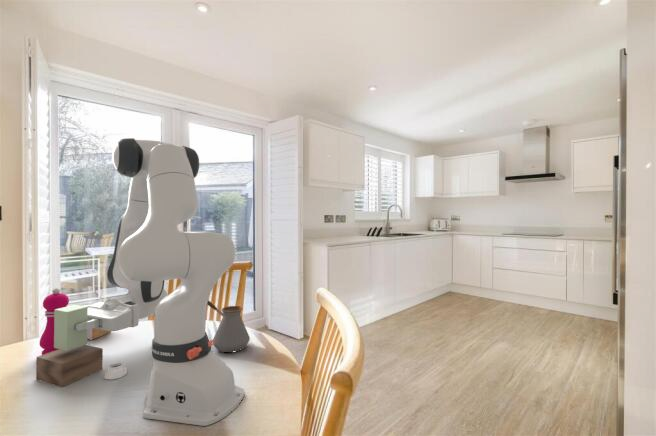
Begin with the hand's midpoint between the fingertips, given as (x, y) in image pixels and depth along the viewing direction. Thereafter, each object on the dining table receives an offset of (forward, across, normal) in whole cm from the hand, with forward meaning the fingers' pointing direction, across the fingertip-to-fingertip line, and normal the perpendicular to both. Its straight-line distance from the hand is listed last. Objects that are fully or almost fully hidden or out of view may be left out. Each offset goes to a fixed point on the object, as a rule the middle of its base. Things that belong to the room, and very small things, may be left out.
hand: (67, 326), depth 86 cm
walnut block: (-1, 0, +13) cm, 13 cm away
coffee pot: (-32, +24, +13) cm, 42 cm away
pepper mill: (-7, -16, +13) cm, 22 cm away
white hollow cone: (-5, +11, +14) cm, 18 cm away
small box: (-22, -21, +13) cm, 33 cm away
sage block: (-1, 0, +6) cm, 6 cm away
